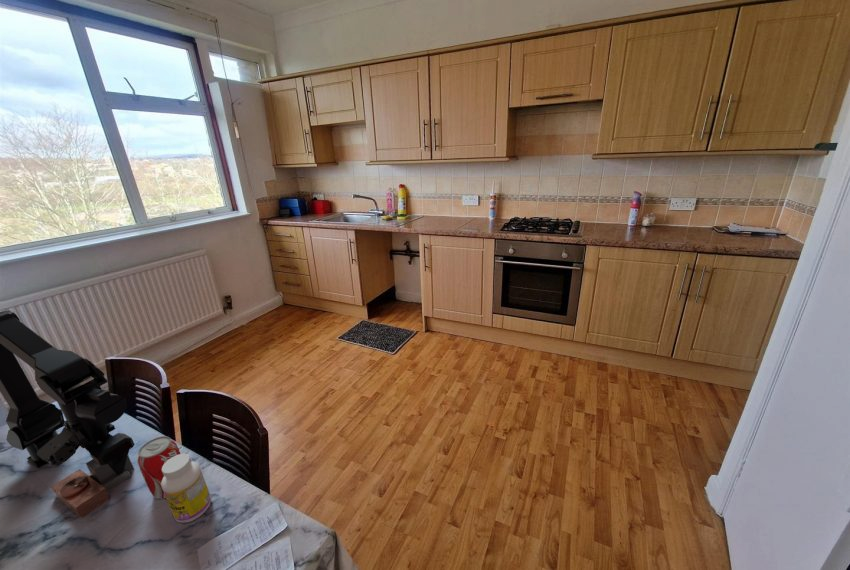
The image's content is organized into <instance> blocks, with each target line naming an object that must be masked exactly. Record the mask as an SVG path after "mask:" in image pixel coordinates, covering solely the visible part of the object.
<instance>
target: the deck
mask: <svg viewBox="0 0 850 570" xmlns="http://www.w3.org/2000/svg"><path fill="white" fill-rule="evenodd" d="M129 478H131V474H130V472H128V470H127V469H124V471H123V473H121V474H119V475H115V476H114V477H112V478H111V479H109V480H108V481H106V482H105V483H103V484H102V485H100V484H99V483H97V482H96V481H95V480H94V479H93V477H92V475H91V473H90V472H89V473H88V474H87V473H85V471H83V470H82V469H80V468H79V469H77V470H76V471H74V472H73V473H70V474H69V475H67V476H65V477H64V478H62V479H60V480H59V481H58V482H55V483H54V484H53V485H52V484H51V486H50V488H51V490H52V491H53V493H54V494H55V496H56V498H58V500H60V501H61V502H62V503H63V504H64V505H66V507H68V508H69V509H70V510H71V511H72V512H73V513H74V514H76V515H77V516H78V517H79V518H80V519H82V518H84V517H85V516H87V515H89V513H91V512H93V511H94V510H96V509H97V508H98V507H99V506H101V505H102V504H104V503H105V502H107V501H108V500H110V499H111V498H110V496H109V492H111V491H112V490H113V489H115V488H116V487H118V486H119V485H121V484H122V483H123V482H125V481H127V480H129Z"/></svg>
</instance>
